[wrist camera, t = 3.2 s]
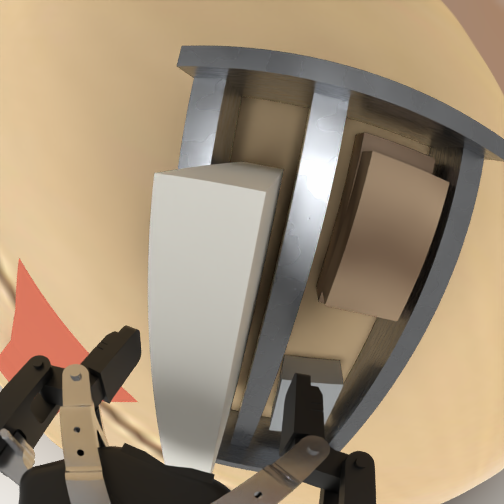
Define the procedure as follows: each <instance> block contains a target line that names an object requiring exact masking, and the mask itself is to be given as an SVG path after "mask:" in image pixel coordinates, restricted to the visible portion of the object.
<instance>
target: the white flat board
mask: <svg viewBox="0 0 504 504" xmlns="http://www.w3.org/2000/svg"><path fill="white" fill-rule="evenodd" d="M283 172H284V169H280V168H275V167H270V166H265V165H260V164H254V163H249V162H243V161H242V162H231V163H222V164H213V165H205V166H197V167H190V168H183V169H176V170H170V171H164V172H158V173H155V174H154V183H153V193H152V204H151V217H150V233H149V256H148V320H149V343H150V358H151V371H152V382H153V391H154V400H155V408H156V415H157V422H158V429H159V435H160V441H161V447H162V452H163V457H164V462H165V465H169V466H177V467H186V468H193V469H196V470H200V471H204V472H207V473H211V474H212V472H213V468H214V465H215V462H216V458H217V455H218V451H219V448H220V444H221V441H222V437H223V434H224V430H225V427H226V423H227V420H228V416H229V412H230V409H231V405H232V402H233V398H234V394H235V391H236V387H237V383H238V379H239V374H240V370H241V366H242V361H243V357H244V353H245V348H246V344H247V340H248V335H249V331H250V326H251V322H252V317H253V313H254V309H255V304H256V300H257V295H258V290H259V286H260V281H261V277H262V272H263V268H264V263H265V258H266V254H267V249H268V244H269V240H270V235H271V230H272V225H273V221H274V216H275V211H276V206H277V201H278V196H279V192H280V187H281V182H282V177H283Z"/></svg>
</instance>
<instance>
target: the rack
mask: <svg viewBox="0 0 504 504" xmlns="http://www.w3.org/2000/svg"><path fill="white" fill-rule="evenodd" d="M177 67H179V68H180V69H182V70H183V71H184V72H186V73H187V74H189V75H190V76H192V77H193V78H194V81H193V85H192V90H191V95H190V100H189V105H188V110H187V115H186V121H185V126H184V132H183V138H182V145H181V151H180V158H179V165H178V169H183V168H190V167H197V166H205V165H213V164H222V163H230V159H231V153H232V147H233V142H234V136H235V131H236V126H237V120H238V115H239V110H240V105H241V100H242V97H249V98H257V99H263V100H270V101H276V102H281V103H287V104H292V105H297V106H302V107H307V108H309V111H308V117H307V122H306V127H305V132H304V137H303V142H302V147H301V152H300V157H299V162H298V167H297V172H296V177H295V182H294V186H293V191H292V196H291V200H290V205H289V210H288V214H287V219H286V223H285V228H284V232H283V237H282V241H281V245H280V250H279V254H278V259H277V263H276V267H275V271H274V276H273V280H272V284H271V288H270V292H269V296H268V301H267V305H266V309H265V313H264V317H263V321H262V325H261V329H260V333H259V337H258V341H257V345H256V348H255V352H254V356H253V360H252V364H251V368H250V371H249V375H248V379H247V383H246V386H245V390H244V394H243V397H242V401H241V405H240V408H239V412H238V411H234V410H230V412H229V416H228V420H227V423H226V427H225V430H224V434H223V437H222V441H221V444H220V448H219V451H218V455H217V458H216V462H215V463H218V464H222V465H226V466H231V467H236V468H240V469H246V470H251V471H257V472H259V471H260V470H262V469H263V468H264V467H266V466H268V465H271V464H273V463H274V462H276V461H277V460H278V459H279V458H280V457H282V456H279V450H280V441H281V431H274V430H269V427H270V420H271V418H267V417H261V415H262V412H263V410H264V407H265V405H266V402H267V399H268V397H269V394H270V391H271V389H272V386H273V383H274V381H275V378H276V375H277V372H278V370H279V367H280V364H281V361H282V358H283V355H284V352H285V349H286V346H287V344H288V341H289V338H290V334H291V331H292V328H293V325H294V322H295V319H296V316H297V313H298V310H299V306H300V303H301V300H302V297H303V293H304V290H305V287H306V283H307V280H308V276H309V273H310V269H311V266H312V262H313V259H314V255H315V251H316V248H317V244H318V240H319V236H320V233H321V229H322V225H323V221H324V217H325V213H326V209H327V205H328V201H329V196H330V192H331V188H332V183H333V179H334V175H335V170H336V165H337V161H338V156H339V151H340V146H341V141H342V136H343V131H344V126H345V120H346V117H347V118H350V119H354V120H357V121H361V122H364V123H367V124H370V125H373V126H376V127H379V128H382V129H385V130H388V131H391V132H394V133H396V134H399V135H402V136H404V137H407V138H410V139H412V140H415V141H417V142H420V143H422V144H424V145H427V146H429V147H430V153H429V156H430V157H432V158H434V159H435V163H434V168H433V173H432V175H434V176H436V177H439V178H441V179H443V180H445V181H447V182H449V187H448V191H447V194H446V198H445V202H444V205H443V209H442V212H441V215H440V219H439V222H438V225H437V228H436V231H435V234H434V237H433V240H432V242H431V245H430V248H429V251H428V253H427V256H426V259H425V261H424V264H423V266H422V269H421V271H420V274H419V276H418V278H417V281H416V283H415V285H414V287H413V290H412V292H411V294H410V296H409V298H408V301H407V303H406V305H405V307H404V309H403V311H402V313H401V315H400V317H399V319H398V321H394V320H389V319H384V318H379V317H377V320H376V322H375V324H374V326H373V328H372V330H371V333H370V335H369V337H368V339H367V341H366V343H365V345H364V347H363V349H362V351H361V353H360V355H359V357H358V358H357V360H356V362H355V364H354V366H353V368H352V370H351V371H350V373H349V375H348V377H347V379H346V380H345V382H344V385H343V387H342V389H341V392H340V394H339V396H338V398H337V400H336V402H335V405H334V407H333V409H332V411H331V413H330V415H329V417H328V419H327V421H326V423H325V425H324V434H325V440H326V441H327V442H328V444H329V446H330V447H331V448H333V449H334V450H337V451H339V452H340V451H341V450H342V449H343V447H344V446H345V445H346V444H347V443H348V442H349V441H350V440H351V439H352V437H353V436H354V435H355V434H356V433H357V432H358V430H359V429H360V428H361V427H362V426H363V424H364V423H365V422H366V421H367V419H368V418H369V417H370V416H371V414H372V413H373V412H374V410H375V409H376V408H377V406H378V405H379V404H380V402H381V401H382V400H383V398H384V397H385V395H386V394H387V393H388V391H389V390H390V388H391V387H392V385H393V384H394V383H395V381H396V380H397V378H398V376H399V375H400V373H401V372H402V370H403V369H404V367H405V366H406V364H407V362H408V361H409V359H410V357H411V356H412V354H413V352H414V351H415V349H416V347H417V345H418V344H419V342H420V340H421V338H422V336H423V335H424V333H425V331H426V329H427V327H428V325H429V323H430V321H431V319H432V317H433V315H434V313H435V311H436V309H437V307H438V305H439V303H440V301H441V298H442V296H443V294H444V292H445V289H446V287H447V285H448V282H449V280H450V278H451V275H452V273H453V270H454V268H455V265H456V262H457V260H458V257H459V254H460V251H461V248H462V245H463V242H464V239H465V236H466V233H467V230H468V227H469V223H470V220H471V216H472V212H473V209H474V205H475V201H476V197H477V192H478V188H479V183H480V178H481V173H482V167H483V161H484V159H488V160H496V161H504V139H503V138H501V137H500V136H498V135H497V134H496V133H494V132H493V131H491V130H490V129H488V128H486V127H485V126H483V125H482V124H480V123H479V122H477V121H475V120H474V119H472V118H470V117H469V116H467V115H465V114H463V113H462V112H460V111H458V110H456V109H454V108H452V107H450V106H449V105H447V104H445V103H443V102H441V101H439V100H437V99H435V98H433V97H430V96H428V95H426V94H424V93H422V92H419V91H417V90H415V89H413V88H410V87H408V86H405V85H403V84H400V83H398V82H395V81H393V80H390V79H387V78H384V77H381V76H379V75H376V74H373V73H370V72H367V71H363V70H360V69H357V68H353V67H350V66H346V65H343V64H339V63H335V62H331V61H327V60H322V59H318V58H313V57H308V56H303V55H298V54H292V53H286V52H280V51H272V50H265V49H255V48H244V47H230V46H182V47H181V51H180V55H179V59H178V63H177Z"/></svg>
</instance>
